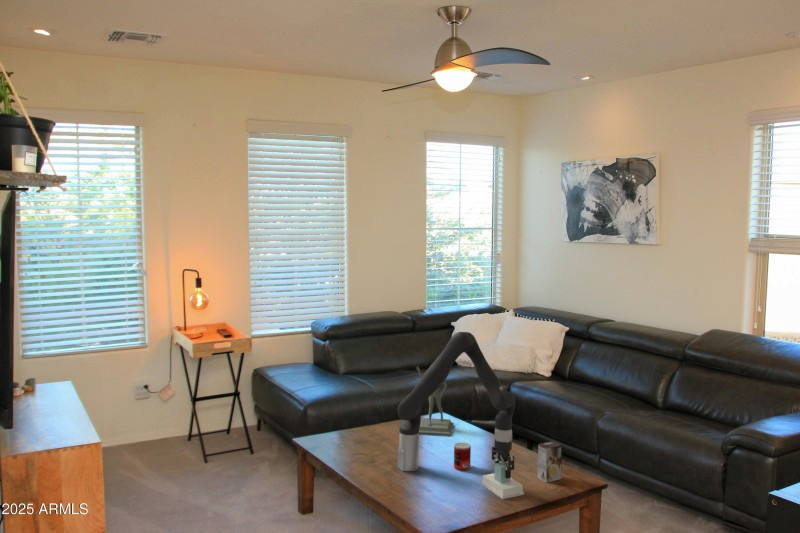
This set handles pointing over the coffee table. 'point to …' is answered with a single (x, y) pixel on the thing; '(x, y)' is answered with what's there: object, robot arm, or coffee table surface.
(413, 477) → the coffee table surface
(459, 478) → the coffee table surface
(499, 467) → the block
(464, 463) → the canned food
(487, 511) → the coffee table surface
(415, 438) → the robot arm
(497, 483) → the plinth
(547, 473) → the coffee box
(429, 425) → the statue
